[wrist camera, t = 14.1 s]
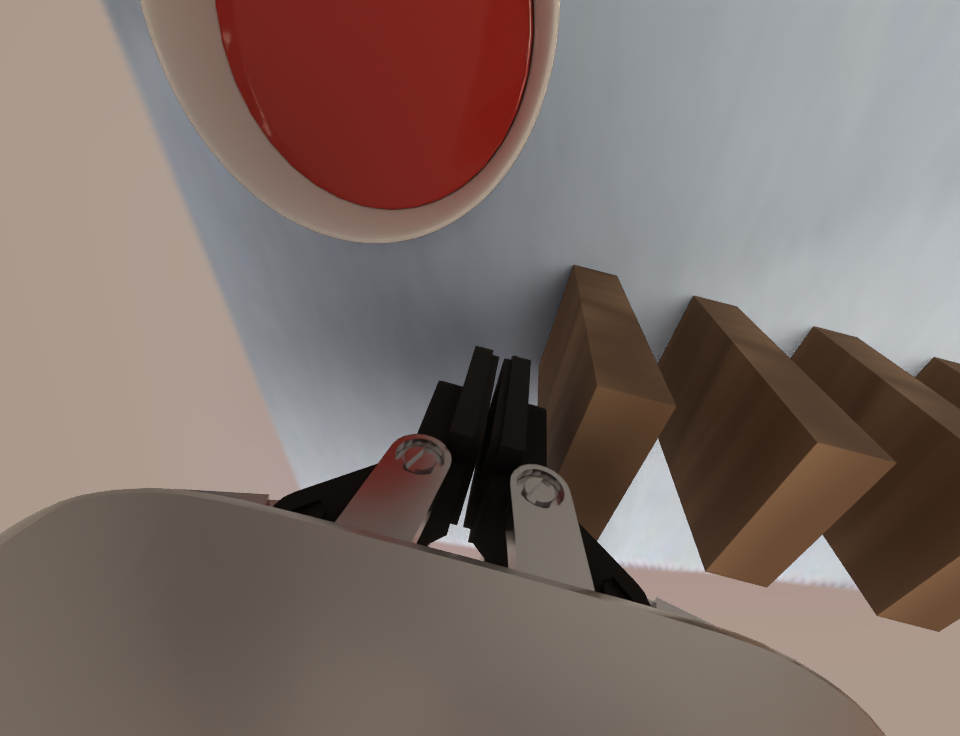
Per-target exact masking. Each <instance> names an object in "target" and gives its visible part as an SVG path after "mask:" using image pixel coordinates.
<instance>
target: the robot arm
mask: <svg viewBox="0 0 960 736" xmlns="http://www.w3.org/2000/svg"><path fill="white" fill-rule="evenodd" d="M492 354H493V350H490V349H486V348H483V347H479V346H476V347H475V350H474V353H473V356H472V360H471V363H470V366H469V369H468V373H467V376H466V379H465V382H464V386H459V385H455V384H451V383H447V382H444V381H439V382H438V384H437V387H436V389H435V392H434V394H433V397H432V399H431V401H430V404H429V406H428V409H427V411H426V414H425V416H424V419H423V421H422V424H421V426H420V428H419V431H418V433H417V434H412V435H407V436H404V437H401V438H399V439H397V440H396V441H395V442H394V443H393V444H392V445H391V447H390V448H389V449H388V451H387V452H386V453H385V455H384V456H383V457H382V459H381V460H380V462H379V463H378V464H375V465H372V466H369V467H367V468H364V469H361V470H358V471H355V472H352V473H349V474H346V475H343V476H340V477H337V478H334V479H331V480H328V481H325V482H323V483H320V484H317V485H314V486H311V487H308V488H305V489H302V490H299V491H296V492H294V493H292V494H289V495H287V496H285V497H283V498H282V499H281V500H270V499H269V495H267V494H251V493H234V492H216V491H201V490H182V489H161V488H141V489H122V490H110V491H104V492H96V493H91V494H86V495H81V496H77V497H73V498H70V499H67V500H64V501H61V502H58V503H56V504H54V505H51V506H49V507H47V508H44V509H42V510H40V511H38V512H37V513H35V514H33V515H31V516H29V517H27V518H25V519H23V520H22V521H20V522H18V523H17V524H15V525H13V526H12V527H10V528H8V529H7V530H6V531H4V532H2V533H1V534H0V736H886V735H885V734H884V732H883V731H882V730H881V729H880V728H879V726H878V725H877V724H876V723H875V722H874V720H873V719H872V718H871V717H870V716H869V715H868V714H867V713H866V712H865V711H864V710H863V709H862V708H861V707H860V706H859V705H858V704H857V703H856V702H855V701H854V700H853V699H851V698H850V697H849V696H848V695H846V694H845V693H844V692H843V691H841V690H840V689H839V688H837V687H836V686H835V685H833V684H832V683H831V682H829V681H828V680H827V679H825V678H823V677H822V676H820V675H819V674H817V673H816V672H814V671H812V670H810V669H809V668H808V667H806V666H804V665H803V664H801V663H800V662H798V661H796V660H795V659H793V658H791V657H788V656H787V655H784V654H783V653H780V652H779V651H777V650H775V649H772V648H771V647H769V646H766V645H765V644H762V643H760V642H757V641H755V640H753V639H750V638H748V637H745V636H743V635H740V634H737V633H735V632H732V631H729V630H726V629H723V628H720V627H716V626H714V625H712V624H710V623H708V622H706V621H704V620H702V619H700V618H698V617H696V616H694V615H692V614H690V613H688V612H686V611H683V610H682V609H680V608H678V607H676V606H673V605H671V604H669V603H667V602H665V601H663V600H661V599H659V598H656V599H655V600H654V601H651V600H649V599H647V597H646V595H645V593H644V591H643V590H642V589H641V588H640V586H639V585H638V584H637V583H636V582H635V581H634V580H633V578H631V576H629V574H627V572H626V571H625V570H624V569H623V568H622V567H621V566H620V565H619V564H618V563H617V562H616V561H615V560H614V559H613V558H612V557H611V556H610V554H609V553H608V552H607V551H606V550H605V549H604V548H603V547H602V546H601V545H600V544H599V543H598V542H597V541H596V540H595V539H594V538H593V537H592V536H591V535H590V534H589V533H588V532H587V530H586V529H585V528H584V527H583V526H582V525H581V524H580V523H579V522H578V520H577V516H576V512H575V508H574V504H573V500H572V496H571V492H570V490H569V487H568V485H567V483H566V482H565V481H564V480H563V478H562V477H561V476H559V475H558V474H557V473H556V472H554V471H553V470H551V469H549V468H547V411H546V409H545V408H542V407H538V406H534V405H530V404H528V398H529V382H530V365H531V360H528V359H524V358H520V357H516V356H512V359H511V360H509V359H504V361H503V365H502V368H501V371H500V375H499V378H498V381H497V385H496V388H495V391H494V395H493V398H492V401H491V396H492V391H493V386H494V381H495V376H496V370H497V365H498V360H499V357H498V356H494V355H492ZM490 401H491V405H490ZM489 406H490V408H489ZM475 465H476V466H475ZM474 468H475V471H474ZM473 471H474V476H473V480H472V485H471V490H470V495H469V500H468V505H467V510H466V515H465V520H464V526H463V527H465V528H469V529H470V535H469V540H468V542H470V543H473V544H474V545H475V547H476V548H477V549H478V551H479V552H480V553H481V557H480V560H476V559H472V558H469V557H465V556H461V555H457V554H453V553H450V552H445V551H442V550H438V549H434V548H430V547H429V545H430V543H432V542H434V541H436V540H438V539H440V538H442V537H444V536H446V535H447V532H448V529H449V525H450V524H454V525H457V524H458V521H459V517H460V514H461V511H462V507H463V504H464V501H465V498H466V494H467V491H468V488H469V484H470V481H471V478H472V475H473Z"/></svg>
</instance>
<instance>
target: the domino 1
mask: <svg viewBox="0 0 960 736" xmlns="http://www.w3.org/2000/svg"><path fill="white" fill-rule="evenodd" d="M538 407H542V408H545V409H546V411H547V468H549V469H551V470H553V471H554V472H556V473H557V474H558V475H559V476H561V477H562V478H563V480H564V481H565V482H566V483H567V485H568V487H569V490H570V492H571V496H572V500H573V504H574V508H575V512H576V516H577V520H578V522H579V523H580V524H581V525H582V526H583V527H584V528H585V529H586V530H587V532H588V533H589V534H590V535H591V536H592V537H593V538H594V539H595V540H596V541H597V540H598V538H599V537H600V535H601V533H602V532H603V530H604V528H605V527H606V525H607V523H608V522H609V520H610V518H611V516H612V515H613V513H614V511H615V510H616V508H617V506H618V505H619V503H620V501H621V499H622V498H623V496H624V494H625V493H626V491H627V489H628V488H629V486H630V484H631V483H632V481H633V479H634V477H635V476H636V474H637V472H638V471H639V469H640V467H641V466H642V464H643V462H644V461H645V459H646V457H647V455H648V454H649V452H650V450H651V449H652V447H653V445H654V444H655V442H656V440H657V438H658V437H659V435H660V433H661V432H662V430H663V428H664V427H665V425H666V423H667V422H668V420H669V418H670V416H671V415H672V413H673V411H674V410H675V408H676V404H675V402H674V400H673V398H672V395H671V393H670V391H669V389H668V387H667V384H666V382H665V380H664V378H663V376H662V373H661V371H660V369H659V367H658V365H657V363H656V360H655V358H654V356H653V354H652V352H651V349H650V347H649V345H648V343H647V341H646V338H645V336H644V334H643V332H642V330H641V327H640V325H639V323H638V321H637V319H636V316H635V314H634V312H633V310H632V308H631V305H630V303H629V301H628V299H627V297H626V294H625V292H624V290H623V288H622V286H621V283H620V281H619V279H618V277H617V276H615V275H612V274H608V273H604V272H600V271H596V270H592V269H588V268H584V267H580V266H576V265H574V266H573V269H572V272H571V275H570V278H569V281H568V283H567V286H566V289H565V292H564V295H563V298H562V301H561V304H560V307H559V310H558V312H557V315H556V318H555V321H554V324H553V327H552V330H551V333H550V336H549V339H548V342H547V344H546V347H545V350H544V353H543V356H542V359H541V362H540V365H539V376H538Z"/></svg>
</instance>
